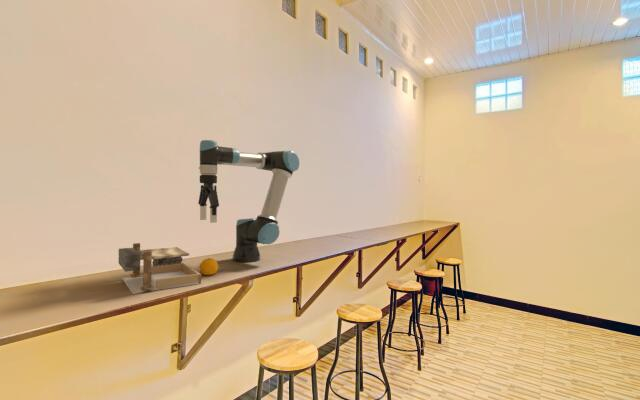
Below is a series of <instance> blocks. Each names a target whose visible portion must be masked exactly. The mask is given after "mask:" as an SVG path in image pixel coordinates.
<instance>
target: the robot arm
mask: <svg viewBox="0 0 640 400" xmlns="http://www.w3.org/2000/svg"><path fill="white" fill-rule="evenodd" d="M218 165H221V166H233V167H234V166H235V167H236V166H237V167H246V168H247V167H248V168H249V167H250V168H256V169H257V170H264V171H269V172H272V174H273V175H272V176H271V177H272V178H271V181H270V184H269V187H268V190H267V193H266V197H265V200H264V203H263V207H262V209H261V212H260V213H261V214H259V215H257V217H254V218H253V217H251V218H239V219H237V220H236V226H235V229H236V230H235V232H236V233H235V235H236V236H235V237H236V239H235V248H234V251H233V254H232V261H234V262H237V263H239V262H241V263H246V262H247V263H249V262H250V263H252V262H256V261H257V262H258V261H260V260H261V254H260V251H259V247H258V244H261V245H271V244H273V243H275V242H276V241H277V240H278V238H279V236H280V231H281V230H280V226H279V225H278V224H279V222H278V220H277V217H278V214H279V210H280V206H281V204H282V201H283V197H284V194H285V190H286V188H287V184H288V181H289V179H290V178H292V177H293V173H294V172H296V171H297V170H299V167H300V158H299V156H298V154H297V153H296V152H295V151H293V150H278V151H276V150H275V151H267V152H261V151H259V152H258V153H251V152H241V151H239V149H237V148H234V147H227V146H219V145H218V141H216V140H211V139H209V140H208V139H203V140H201V141H200V142H199V166H198V169H199V174H200V175H199V184H200V191H199V198H198V205H199V220H200V221H206V220H207V207H208V204H207V201H208V200H209V204H210V206H209V223H210V224H213V223H214V224H216V223H217V221H218V219H217V218H218V213H217V212H218V207H219V206H220V203H219V197H218V192H217V185H215V184H218V176H217V174H218Z"/></svg>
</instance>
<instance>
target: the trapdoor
mask: <svg viewBox="0 0 640 400" xmlns="http://www.w3.org/2000/svg"><path fill="white" fill-rule="evenodd" d="M146 251H151V252H152V260H153V259H160V258H170V257H180V256H181V257H188V256H190V253H189V252H187V251H185V250H183V249H181V248H179V247H178V246H175V247H163V248H152V249H151V248H149V249H140V251H139V250H138V249H137V250H135V249H133V247H124V248H123V247H122V248H118V264H119V266H120V267H121V268H122V270H123V271H124V272H125V273H127V272H133V271H136V270H140V271H141V261H142V260H143V256H144V252H146Z"/></svg>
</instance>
